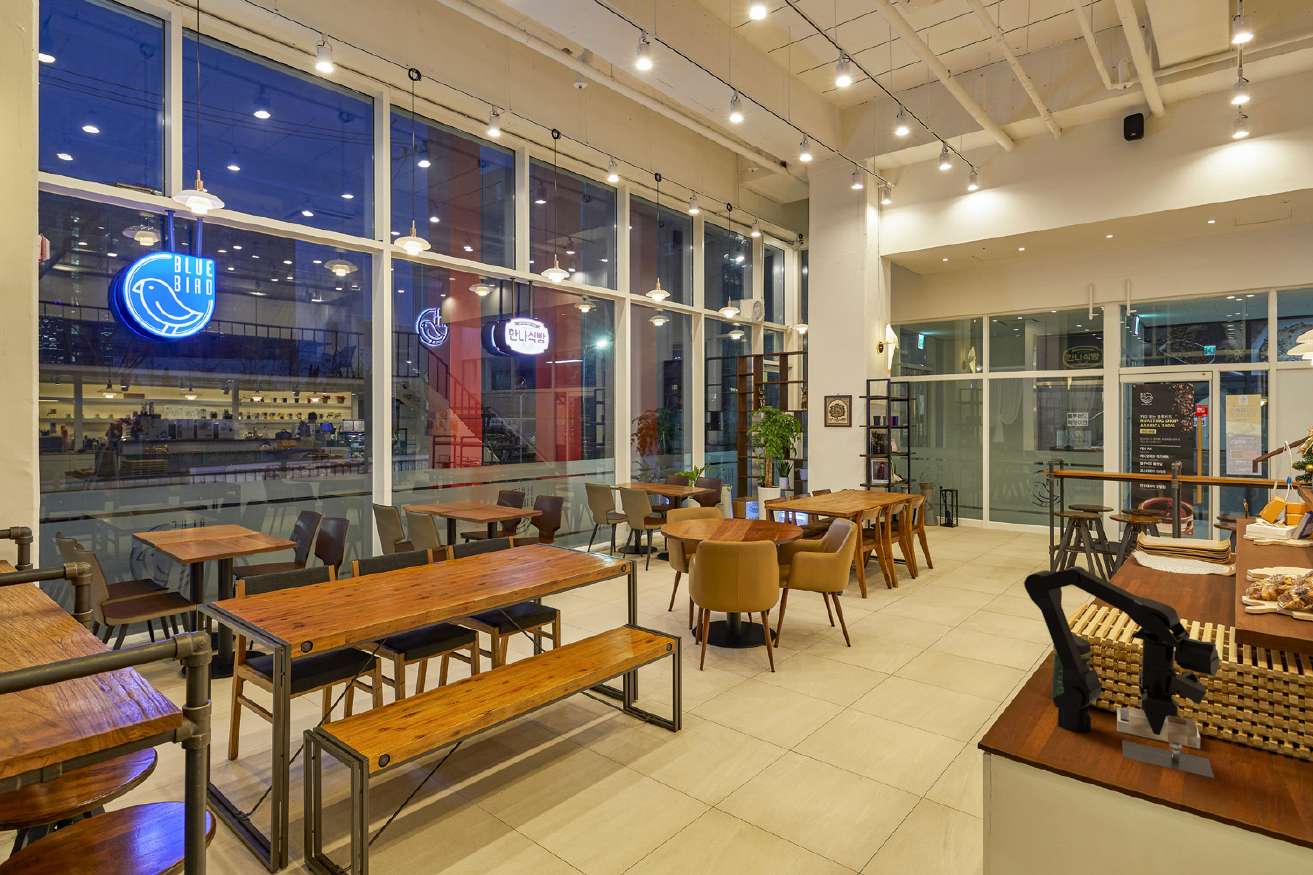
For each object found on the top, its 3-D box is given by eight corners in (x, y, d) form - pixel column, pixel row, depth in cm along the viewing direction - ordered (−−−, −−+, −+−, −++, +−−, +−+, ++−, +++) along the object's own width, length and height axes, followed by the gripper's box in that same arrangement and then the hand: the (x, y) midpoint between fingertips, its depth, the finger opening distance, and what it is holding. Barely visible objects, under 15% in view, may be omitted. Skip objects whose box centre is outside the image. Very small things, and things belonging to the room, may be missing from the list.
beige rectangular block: (1129, 732, 154) (1129, 715, 154) (1128, 723, 158) (1129, 706, 158) (1196, 746, 147) (1197, 728, 147) (1194, 737, 152) (1194, 719, 151)
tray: (1117, 734, 165) (1117, 720, 165) (1116, 720, 172) (1117, 707, 172) (1199, 752, 156) (1200, 737, 156) (1195, 736, 164) (1196, 722, 164)
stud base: (1122, 761, 153) (1123, 737, 153) (1121, 744, 161) (1122, 721, 160) (1214, 782, 144) (1215, 757, 144) (1208, 763, 152) (1209, 739, 152)
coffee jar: (1080, 714, 176) (1081, 643, 175) (1047, 703, 182) (1048, 635, 181) (1094, 703, 182) (1096, 635, 181) (1062, 693, 188) (1063, 627, 187)
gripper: (1209, 684, 140) (1206, 757, 141) (1199, 655, 156) (1196, 721, 157) (1142, 672, 146) (1140, 743, 147) (1139, 646, 162) (1137, 710, 163)
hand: (1155, 729), depth 153 cm, fingers closed on beige rectangular block, 5 cm apart
